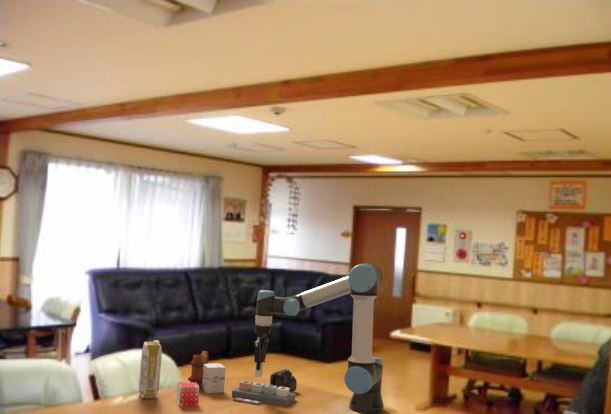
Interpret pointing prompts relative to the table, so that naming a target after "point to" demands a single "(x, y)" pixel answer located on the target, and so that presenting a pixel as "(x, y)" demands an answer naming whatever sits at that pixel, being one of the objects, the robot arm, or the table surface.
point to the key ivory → (282, 391)
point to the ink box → (213, 378)
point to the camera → (283, 379)
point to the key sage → (257, 387)
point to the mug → (198, 367)
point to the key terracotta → (245, 385)
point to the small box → (187, 394)
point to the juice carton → (150, 369)
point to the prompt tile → (247, 401)
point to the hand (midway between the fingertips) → (258, 376)
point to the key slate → (270, 389)
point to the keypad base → (264, 397)
